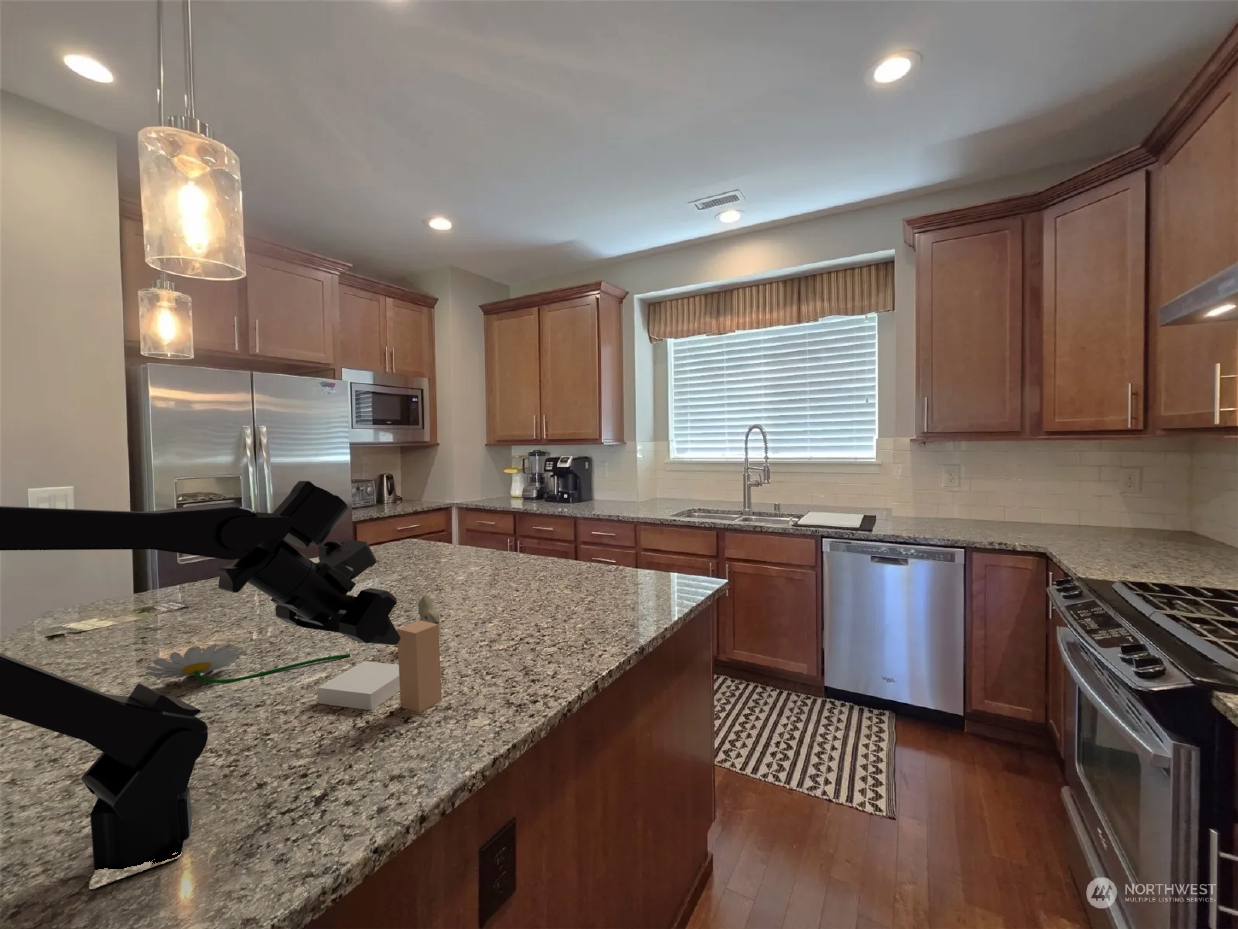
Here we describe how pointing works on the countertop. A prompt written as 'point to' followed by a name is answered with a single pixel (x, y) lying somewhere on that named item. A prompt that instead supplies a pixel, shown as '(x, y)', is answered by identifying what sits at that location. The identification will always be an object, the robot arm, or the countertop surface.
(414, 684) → the block
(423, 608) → the chocolate bunny
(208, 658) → the flower
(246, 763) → the countertop surface
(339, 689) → the plinth
